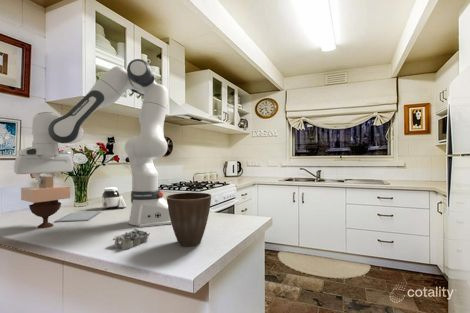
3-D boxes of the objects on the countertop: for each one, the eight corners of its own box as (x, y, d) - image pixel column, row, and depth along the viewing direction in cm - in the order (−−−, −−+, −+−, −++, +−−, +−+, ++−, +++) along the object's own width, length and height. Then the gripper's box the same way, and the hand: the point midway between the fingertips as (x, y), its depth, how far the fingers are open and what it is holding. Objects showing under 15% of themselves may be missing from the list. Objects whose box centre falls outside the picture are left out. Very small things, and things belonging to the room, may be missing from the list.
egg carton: (126, 251, 79) (126, 238, 79) (110, 247, 82) (110, 235, 82) (151, 241, 88) (151, 229, 88) (136, 238, 92) (136, 226, 92)
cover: (56, 195, 116) (56, 174, 116) (70, 198, 108) (70, 175, 108) (21, 199, 105) (21, 176, 105) (33, 202, 98) (33, 178, 98)
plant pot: (204, 252, 77) (204, 199, 77) (158, 249, 79) (158, 198, 79) (216, 237, 92) (216, 192, 92) (177, 235, 94) (176, 192, 94)
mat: (101, 212, 134) (101, 211, 134) (88, 220, 116) (88, 219, 116) (71, 213, 131) (71, 212, 131) (54, 222, 113) (54, 221, 113)
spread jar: (100, 208, 145) (100, 187, 145) (119, 205, 154) (119, 186, 154) (109, 211, 137) (109, 189, 137) (129, 207, 146) (129, 187, 146)
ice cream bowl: (44, 230, 100) (44, 193, 100) (21, 229, 102) (21, 192, 103) (67, 224, 111) (67, 189, 111) (46, 222, 113) (46, 189, 113)
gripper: (69, 151, 117) (69, 181, 117) (12, 150, 100) (12, 185, 100) (75, 151, 114) (76, 182, 114) (18, 150, 97) (18, 186, 97)
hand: (46, 183), depth 107 cm, fingers closed on cover, 3 cm apart
